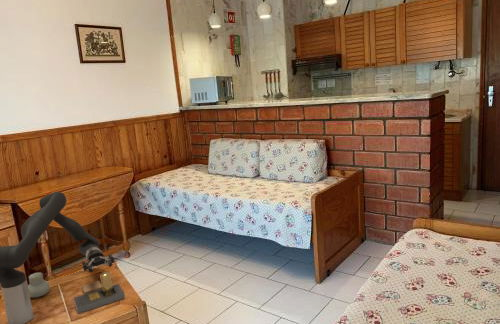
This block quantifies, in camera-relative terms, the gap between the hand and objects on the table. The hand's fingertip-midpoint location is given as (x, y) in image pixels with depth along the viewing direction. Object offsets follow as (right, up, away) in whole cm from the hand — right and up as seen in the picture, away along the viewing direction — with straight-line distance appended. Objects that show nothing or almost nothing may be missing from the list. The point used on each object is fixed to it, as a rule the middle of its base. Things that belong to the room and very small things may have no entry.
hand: (101, 267), depth 187 cm
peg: (+6, -12, -6) cm, 15 cm away
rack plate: (+3, -13, -8) cm, 15 cm away
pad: (-5, -11, +2) cm, 13 cm away
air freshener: (-31, -14, +2) cm, 33 cm away
